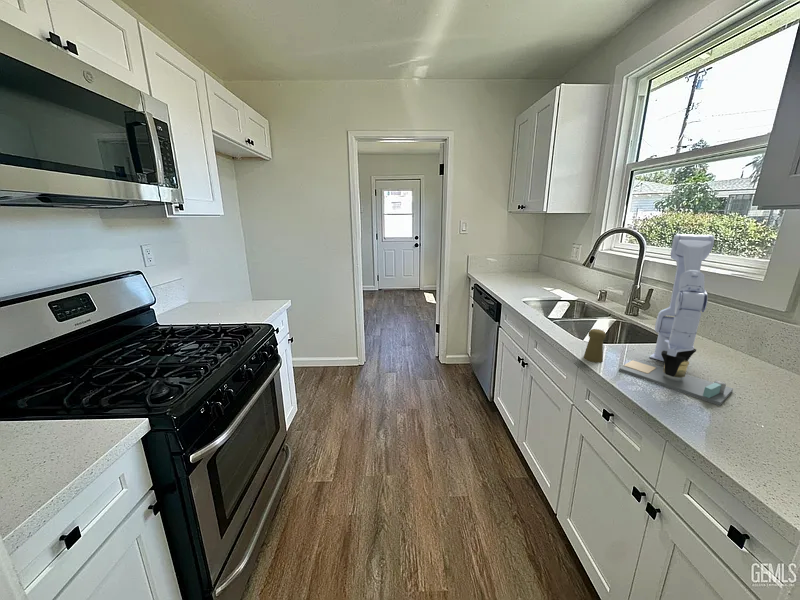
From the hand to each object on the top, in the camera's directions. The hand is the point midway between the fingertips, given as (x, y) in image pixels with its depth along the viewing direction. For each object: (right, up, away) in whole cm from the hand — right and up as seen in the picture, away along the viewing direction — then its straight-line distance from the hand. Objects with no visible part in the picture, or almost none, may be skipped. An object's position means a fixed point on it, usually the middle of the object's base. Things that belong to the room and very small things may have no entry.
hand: (674, 371), depth 103 cm
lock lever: (+3, -4, -9) cm, 11 cm away
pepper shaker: (-16, +1, +16) cm, 23 cm away
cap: (0, 0, 0) cm, 0 cm away
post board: (0, -3, +1) cm, 3 cm away
